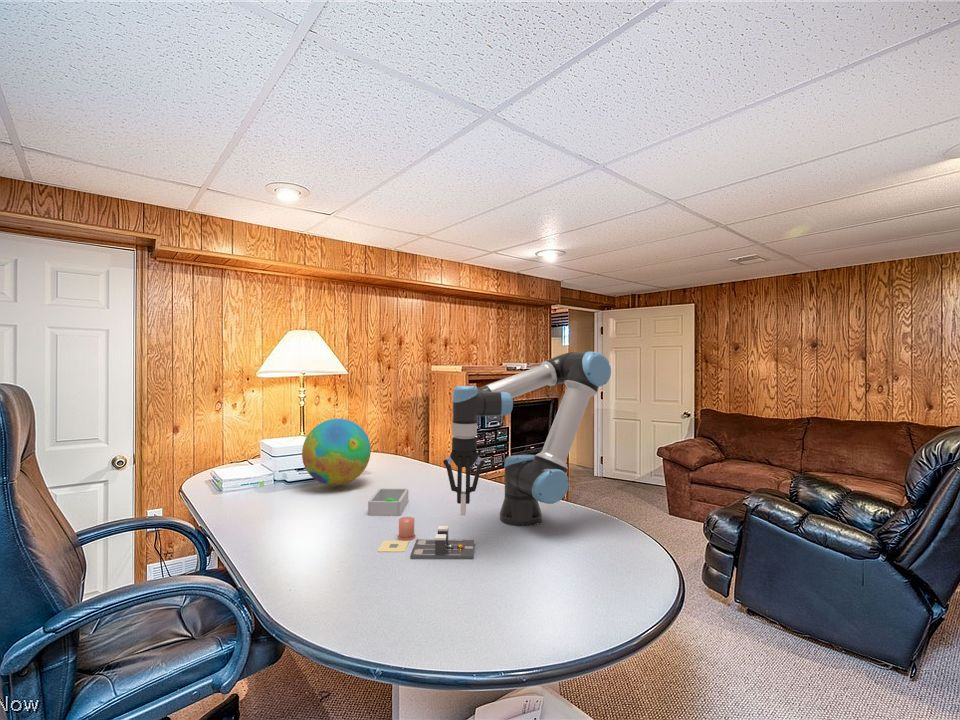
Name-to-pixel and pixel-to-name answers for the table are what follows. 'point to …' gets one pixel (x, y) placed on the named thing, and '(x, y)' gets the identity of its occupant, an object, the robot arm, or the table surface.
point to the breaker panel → (453, 550)
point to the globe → (336, 452)
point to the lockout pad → (393, 546)
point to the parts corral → (388, 502)
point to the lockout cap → (406, 528)
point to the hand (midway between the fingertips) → (463, 513)
